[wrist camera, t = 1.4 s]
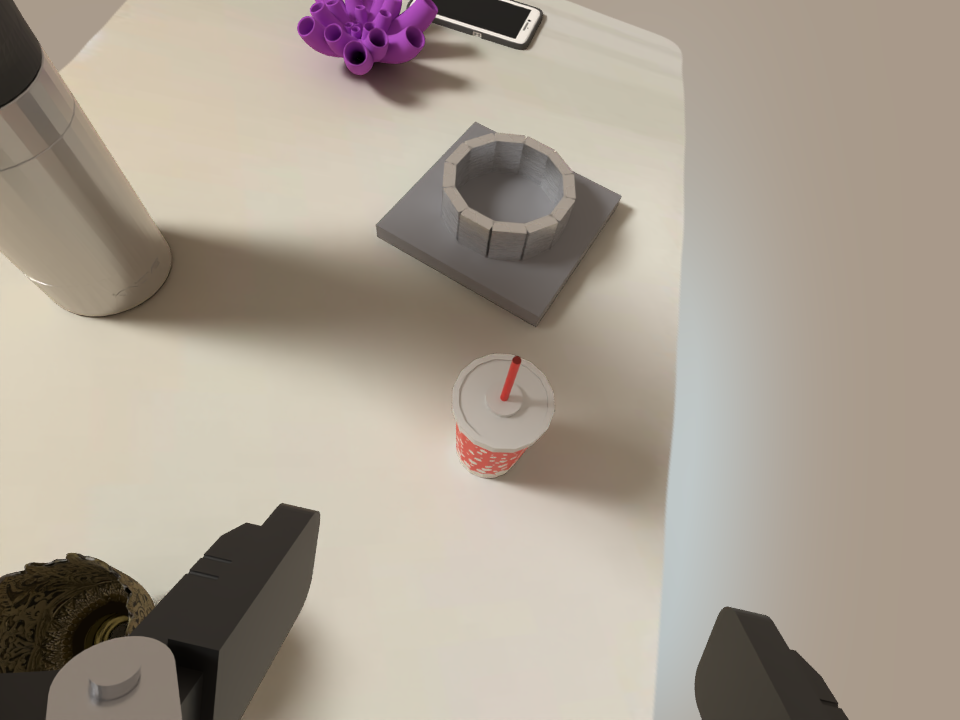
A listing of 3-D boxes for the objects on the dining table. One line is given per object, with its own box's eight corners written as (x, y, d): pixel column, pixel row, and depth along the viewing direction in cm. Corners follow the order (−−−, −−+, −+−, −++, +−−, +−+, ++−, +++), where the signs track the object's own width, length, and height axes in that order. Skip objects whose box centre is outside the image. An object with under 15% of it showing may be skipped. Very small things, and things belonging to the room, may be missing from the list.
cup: (193, 561, 35) (135, 540, 28) (188, 694, 32) (120, 710, 24) (63, 584, 33) (-33, 568, 26) (44, 725, 30) (-71, 751, 23)
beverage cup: (498, 394, 42) (530, 291, 30) (545, 460, 40) (600, 378, 28) (429, 434, 40) (433, 341, 28) (475, 505, 38) (501, 440, 26)
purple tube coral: (394, 46, 65) (444, -16, 59) (375, 133, 58) (430, 74, 52) (306, -27, 59) (352, -105, 52) (273, 63, 52) (322, -15, 45)
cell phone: (429, -18, 67) (429, -27, 66) (543, 18, 65) (545, 9, 65) (403, 16, 63) (403, 7, 62) (524, 55, 62) (525, 46, 61)
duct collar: (417, 219, 47) (416, 190, 44) (483, 147, 52) (487, 116, 49) (527, 281, 45) (535, 254, 42) (586, 200, 50) (596, 171, 47)
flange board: (377, 236, 48) (375, 224, 46) (474, 134, 55) (475, 121, 53) (535, 326, 45) (539, 317, 44) (616, 207, 52) (621, 195, 51)
